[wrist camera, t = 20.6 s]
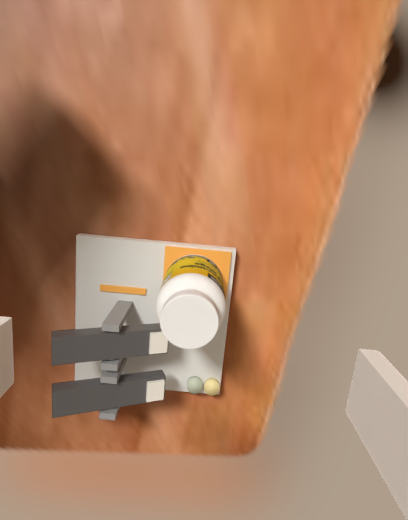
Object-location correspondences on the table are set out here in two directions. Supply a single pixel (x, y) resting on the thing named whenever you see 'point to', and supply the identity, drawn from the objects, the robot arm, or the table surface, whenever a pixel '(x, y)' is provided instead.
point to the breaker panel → (143, 308)
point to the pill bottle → (191, 302)
